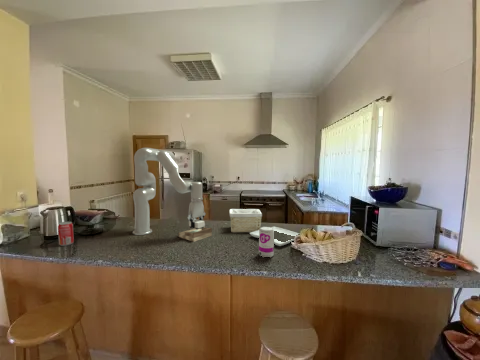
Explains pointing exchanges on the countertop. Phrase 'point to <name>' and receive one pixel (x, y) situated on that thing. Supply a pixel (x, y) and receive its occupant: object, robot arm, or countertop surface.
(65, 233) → the soda can
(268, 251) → the supplement can
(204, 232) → the dock
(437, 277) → the countertop surface
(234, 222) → the storage basket
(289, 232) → the square plate
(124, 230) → the countertop surface
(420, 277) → the countertop surface
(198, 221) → the cream rod-topped slab
